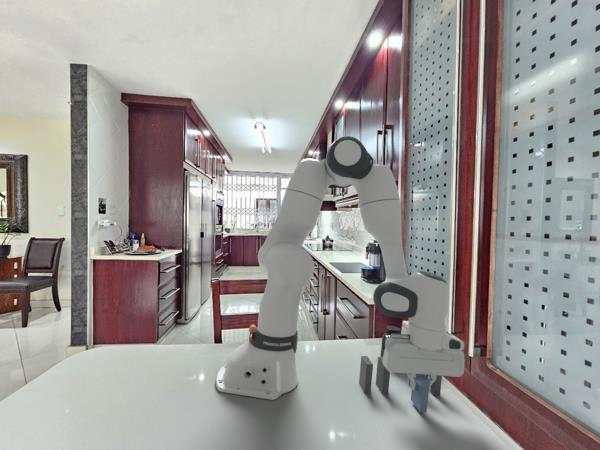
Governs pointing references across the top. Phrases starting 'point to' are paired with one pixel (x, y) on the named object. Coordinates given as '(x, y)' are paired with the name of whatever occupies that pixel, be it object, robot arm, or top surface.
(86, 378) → the top surface
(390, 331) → the supplement bottle
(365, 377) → the domino
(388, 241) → the robot arm
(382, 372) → the domino
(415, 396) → the domino
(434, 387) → the domino
